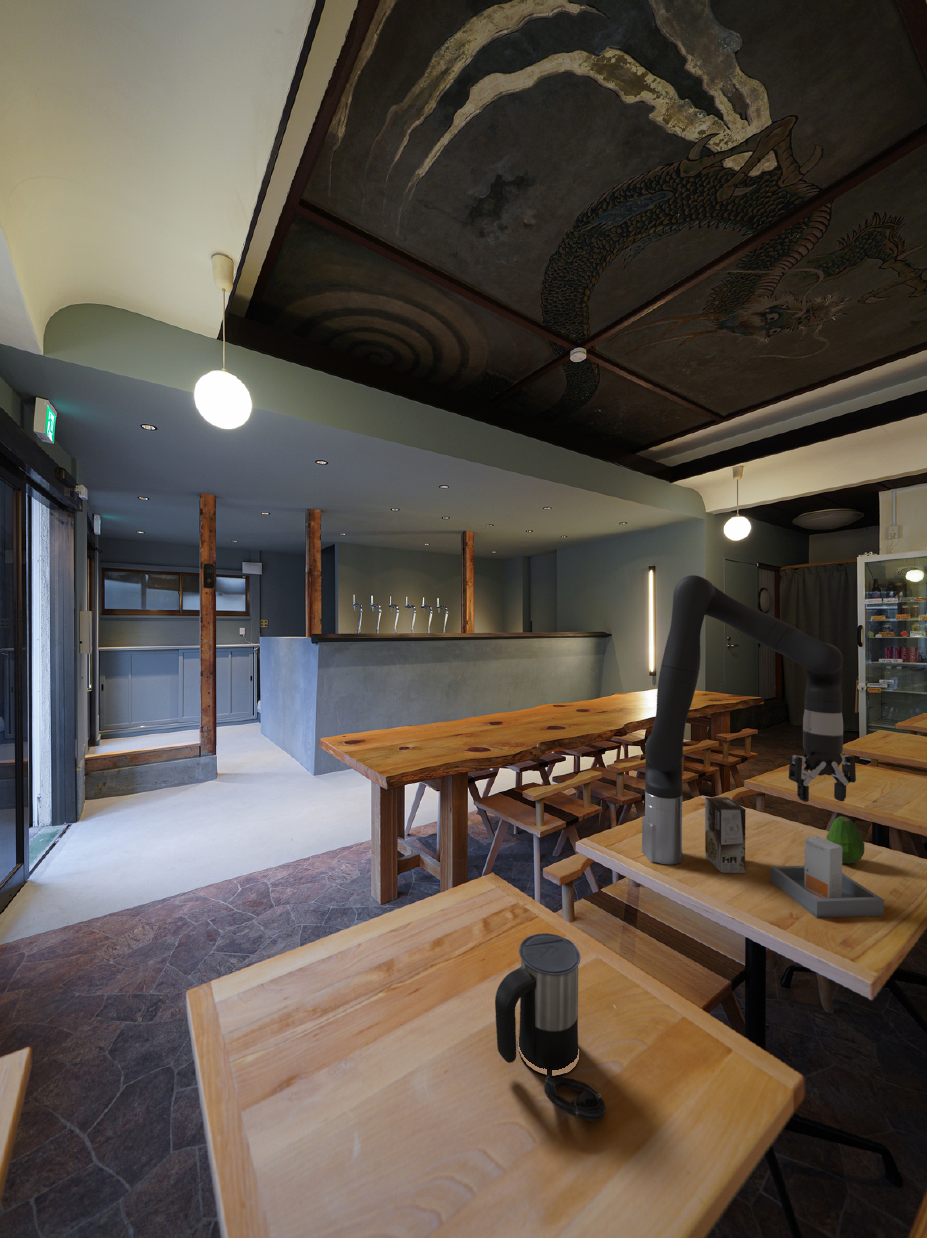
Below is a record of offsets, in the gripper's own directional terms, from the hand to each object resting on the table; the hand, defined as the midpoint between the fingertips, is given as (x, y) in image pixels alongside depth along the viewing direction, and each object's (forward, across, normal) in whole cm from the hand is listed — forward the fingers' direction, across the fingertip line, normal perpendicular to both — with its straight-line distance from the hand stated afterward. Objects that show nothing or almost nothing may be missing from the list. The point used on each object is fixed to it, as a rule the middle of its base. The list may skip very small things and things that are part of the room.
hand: (821, 800), depth 117 cm
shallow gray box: (+22, 0, -1) cm, 22 cm away
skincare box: (+22, 0, -1) cm, 22 cm away
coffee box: (+22, -14, +15) cm, 30 cm away
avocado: (+22, +18, +14) cm, 32 cm away
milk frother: (+23, -71, -41) cm, 85 cm away
